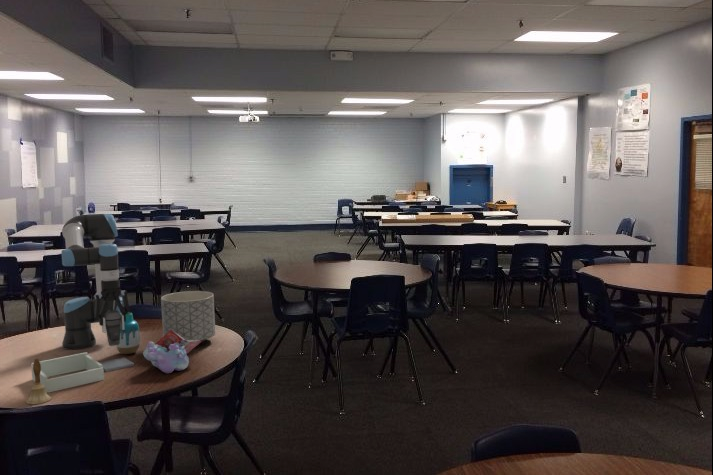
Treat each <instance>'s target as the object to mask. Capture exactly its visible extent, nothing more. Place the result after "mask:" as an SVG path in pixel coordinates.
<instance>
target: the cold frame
mask: <svg viewBox="0 0 713 475" xmlns="http://www.w3.org/2000/svg"><path fill="white" fill-rule="evenodd" d="M39 362H40V365H41V372H40V384H41V385H44V386H45V390H46V393H47V394H48V393H52V392H56V391H61V390H65V389H70V388H74V387H78V386H83V385H87V384H91V383H96V382H100V381H104V380H105V374H104V372H105V371H104V370H103V367H102V364H100V362H99V361H97V359H94V357H92V356H90V355H89V352H87V351H86V352H81V353H75V354H71V355H66V356H61V357H60V356H59V357H55V358H51V359H46V360H41V361H40V360H39ZM33 364H34V362H32V363H31V364H30V365H31V379H32V381H33V382H34V383H35V374H34V371H33ZM82 370H83V371H82ZM73 372H74V373H73ZM69 373H70V374H69ZM50 376H51V377H52V378H49V377H50ZM55 376H56V377H55Z"/></svg>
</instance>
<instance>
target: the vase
mask: <svg viewBox="0 0 713 475" xmlns="http://www.w3.org/2000/svg"><path fill="white" fill-rule="evenodd" d="M140 342H141V340H140V327H139V323H138V322H137V321H136V320H134V316H133V313H132V312H129V313H127V314H126V322H124V330H122V329H121V328H120V344H119V345H115V346H116V349H117V351H118V352H119V354H123V355H130V354H131V355H132V354H134V353H136V352H137V351H139V349H140V344H141V343H140Z"/></svg>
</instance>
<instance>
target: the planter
mask: <svg viewBox="0 0 713 475" xmlns="http://www.w3.org/2000/svg"><path fill="white" fill-rule="evenodd" d="M160 302H161V321H162V337H164V336H165V335H166V334H167V333H168V332H169V331H170V330H172V331H174V332H176V333H177V334H178V335H180V336H181V337H183V338H184V339H185V341H186V340H199V341H202V342H200V343H199V344H198V345H200V344H203V343H204V342H205V341H207V340H208V339H210V338H212V337H213V336H216V320H215V319H216V317H215V316H216V315H215V296H214V293H213V292H211V291H203V290H195V291H194V290H189V291H186V290H185V291H179V292H172V293H168V294H165V295H162V296H161V298H160Z"/></svg>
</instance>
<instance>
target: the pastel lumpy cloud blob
mask: <svg viewBox="0 0 713 475" xmlns="http://www.w3.org/2000/svg"><path fill="white" fill-rule="evenodd" d="M200 342H202V341H199V340H186V341H185V339H184V338H183V337H181V336H180V335H178V334H177V333H176V332H174V331H172V330H170V331H169V332H168V333H167V334H166V335H165V336H164V337H163V336H162V337H161V338H160V339H159V340H158V341H157V342H156V343H155V342H153V341H152V340H151V341H148V344H147V345H145V349H144V350H143V352H142V355H143V356H144V358H145V359H146V360H147V361H150V362H151V364H152V366H154V367H156V368H158V369H159V370H160V371H161V372H163V373H165V374H167V375H169V374H172V373H173V371H179V372H180V371H184V370H185V369H186V368H188V366H189V363H190V358H189V356H188V355H187V354H188V353H190V352H191V351H192V350H193V349H194V348H196V347H197V346H198V345H200V344H201V343H200ZM199 343H200V344H199ZM202 343H203V342H202Z"/></svg>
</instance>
